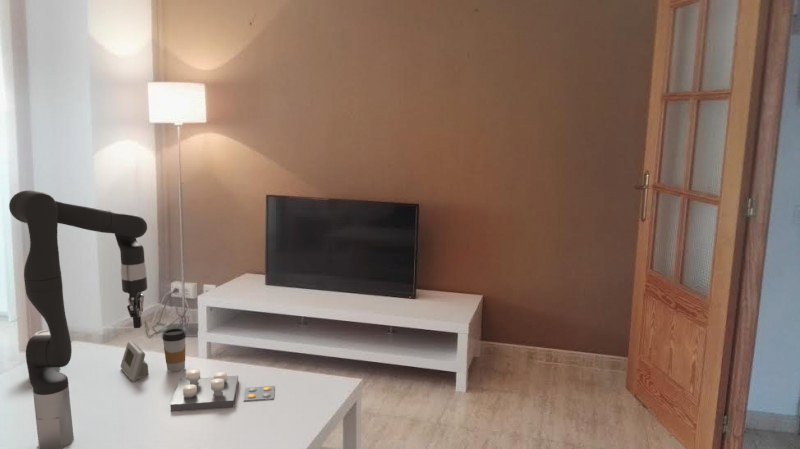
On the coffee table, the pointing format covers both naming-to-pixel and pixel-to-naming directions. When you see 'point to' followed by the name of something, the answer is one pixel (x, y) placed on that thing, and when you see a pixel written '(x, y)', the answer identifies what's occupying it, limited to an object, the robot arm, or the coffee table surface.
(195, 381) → the button
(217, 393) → the button
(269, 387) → the card
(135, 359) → the digital clock
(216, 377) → the button
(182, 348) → the coffee cup
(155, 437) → the coffee table surface
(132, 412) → the coffee table surface
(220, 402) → the board
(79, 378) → the coffee table surface
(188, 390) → the button
